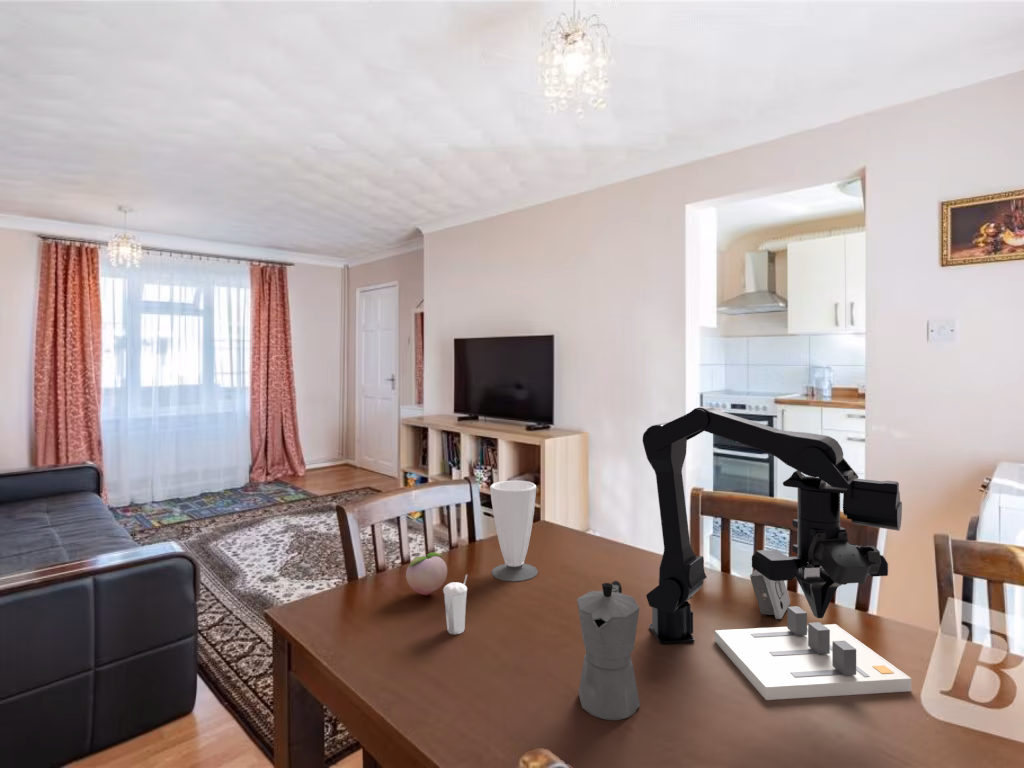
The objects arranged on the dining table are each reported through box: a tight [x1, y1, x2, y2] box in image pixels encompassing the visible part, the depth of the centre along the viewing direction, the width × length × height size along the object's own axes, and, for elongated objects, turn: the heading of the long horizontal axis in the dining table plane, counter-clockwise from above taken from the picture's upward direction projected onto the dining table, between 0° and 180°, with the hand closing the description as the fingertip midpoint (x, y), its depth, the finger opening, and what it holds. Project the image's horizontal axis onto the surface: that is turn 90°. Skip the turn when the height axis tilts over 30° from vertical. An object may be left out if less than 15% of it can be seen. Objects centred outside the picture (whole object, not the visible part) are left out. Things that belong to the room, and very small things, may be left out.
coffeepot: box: [576, 580, 641, 721], centre depth 80 cm, size 15×9×18 cm, turn 159°
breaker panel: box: [714, 623, 912, 701], centre depth 88 cm, size 23×17×2 cm
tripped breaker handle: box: [832, 641, 856, 675], centre depth 82 cm, size 2×3×4 cm
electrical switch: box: [749, 569, 791, 620], centre depth 108 cm, size 9×5×9 cm, turn 141°
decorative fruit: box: [405, 550, 448, 596], centre depth 117 cm, size 9×8×10 cm
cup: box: [489, 479, 539, 583], centre depth 129 cm, size 12×12×22 cm
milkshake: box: [442, 574, 468, 636], centre depth 102 cm, size 4×5×10 cm
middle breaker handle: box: [807, 621, 830, 654], centre depth 88 cm, size 2×3×4 cm
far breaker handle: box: [786, 605, 808, 636], centre depth 94 cm, size 2×3×4 cm
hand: (818, 617), depth 82 cm, fingers closed
